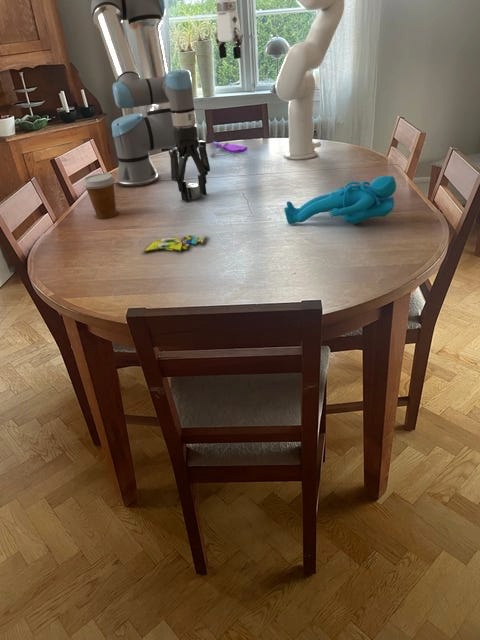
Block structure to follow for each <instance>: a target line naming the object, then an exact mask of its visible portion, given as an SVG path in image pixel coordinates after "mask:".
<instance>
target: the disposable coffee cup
mask: <svg viewBox="0 0 480 640" xmlns="http://www.w3.org/2000/svg"><path fill="white" fill-rule="evenodd" d="M114 183H115V178H114V177H113V175H112V174H111V173H107V172H106V173H96V174H91V175H87V176H85V177H84V179H83V186H84V187H85V189H86V192H87V195H88V197H89V199H90V202H91V204H92V207H93V209H94V212H95V215H96V217H97V218H100V219H106V218H111V217H113V216H115V215H117V203H116V195H115V193H116V192H115V184H114Z"/></svg>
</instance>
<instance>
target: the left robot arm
mask: <svg viewBox="0 0 480 640" xmlns="http://www.w3.org/2000/svg"><path fill="white" fill-rule="evenodd" d="M90 13H91V18H92V22H93V24H94V26H95V27H96V29H98V30H99V33H100V35H101V38H102V41H103V45H104V48H105V51H106V54H107V57H108V61H109V64H110V67H111V70H112V72H113V76H114V79H115V82H114V83H112V93H113V98H114V102H115V105H116V106H117V108H118V109H133V108H139V107H145V106H148V108H147V110H146V115H147V116H143V114H142V113H138V112H137V113H130V114H127V115H123V116H120V117H118V118H116V119H114V120H113V121H112V122H111V132H112V138H113V141H114V146H115V151H116V155H117V160H118V167H117V168H118V170H117V183H118V186H120V187H123V188H124V187H125V188H136V187H137V188H138V187H145V186H147V185H148V186H149V185H151V184H154V183H156V182H157V181H158V180H159V176H158V172H157V169H156V167H155V166H154V163H153V161H152V159H151V156H150V151H157V150H162V149H168V154H169V157H170V176H171V181H173V182H175V183H177V188H178V191H179V192H180V196H181V201H183V202H189V201H190V200H188V193H187V186H186V185H187V181H185V175H186V167H187V162H188V160H189V158H190V157H191V159H192V160H193V162H194V165H195V167H196V170H197V171H198V173H199V174H197V181H198V182H197V183H199V184H200V191H201V195H203V196H207V185H206V184H207V176H208V174H209V172H210V171H211V166H210V161H209V157H208V152H207V142H206V141H205V140H199V139H198V138H199V132H198V126H197V117H196V108H195V99H194V90H193V80H192V76H191V72H190V70H188V69H175V70H169V71H168V67H167V63H166V58H165V53H164V52H165V51H164V45H163V40H162V36H161V30H160V27H161V25H162V24H163V18H164V17H165V15H166V3H165V0H91V4H90ZM123 21H127V22H128V26H129V28H130V29H131V30H133V32H134V34H135V40H136V44H137V45H136V46H137V49H138V55H139V59H140V66H141V69H142V75H143V78H141V76H140V73H139V70H138V67H137V64H136V61H135V59H134V55H133V52H132V50H131V47H130V44H129V40H128V37H127V34H126V33H125V29H124V25H123ZM171 148H172V149H171Z"/></svg>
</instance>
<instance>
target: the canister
mask: <svg viewBox="0 0 480 640" xmlns="http://www.w3.org/2000/svg"><path fill="white" fill-rule="evenodd" d="M186 186H187V193H188V200H189V201H199V200H200V199H202V194H201V191H200V184H199V182H190V183H186Z"/></svg>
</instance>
